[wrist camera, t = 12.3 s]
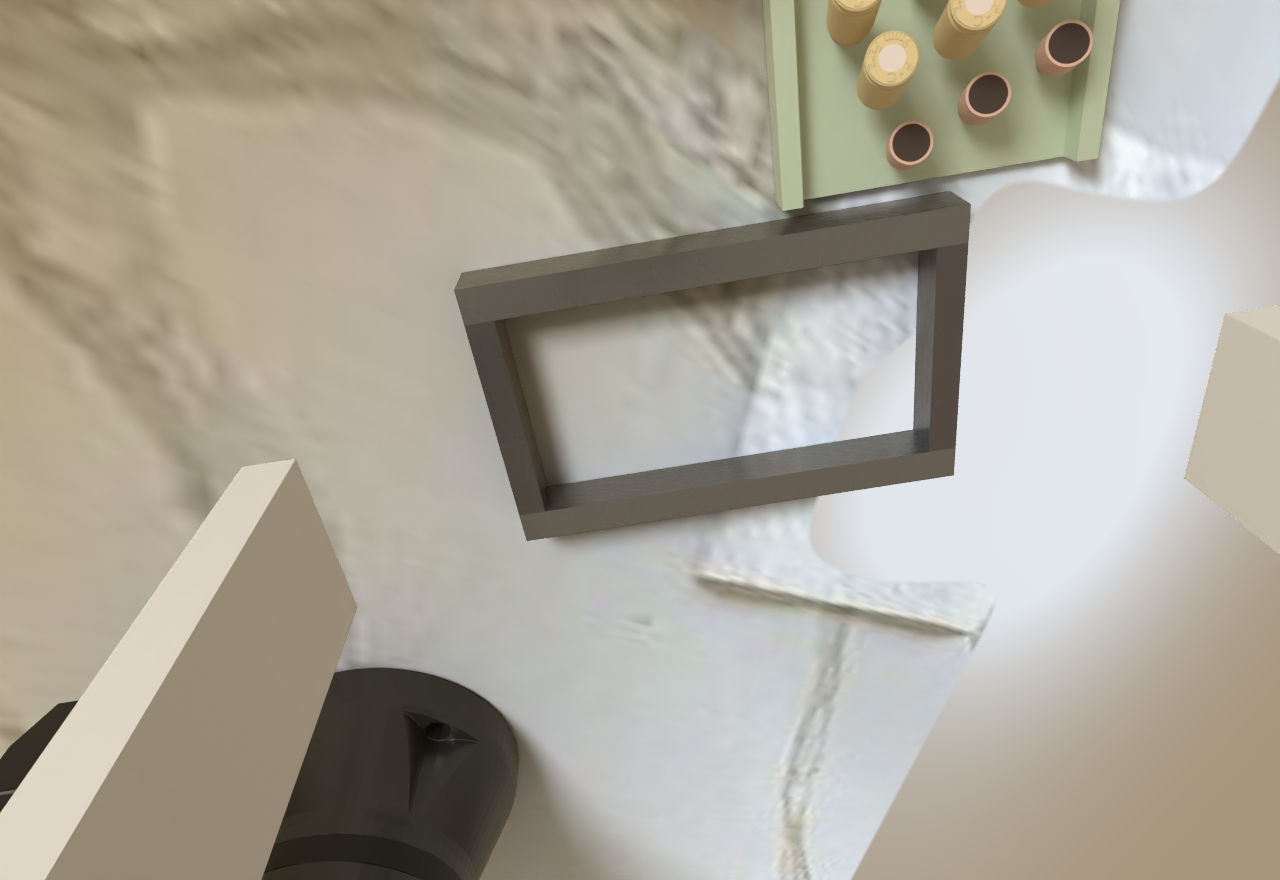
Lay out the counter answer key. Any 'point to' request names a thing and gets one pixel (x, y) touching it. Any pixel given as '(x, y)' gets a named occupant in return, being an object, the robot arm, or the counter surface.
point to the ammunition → (954, 38)
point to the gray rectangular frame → (713, 260)
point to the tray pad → (925, 97)
